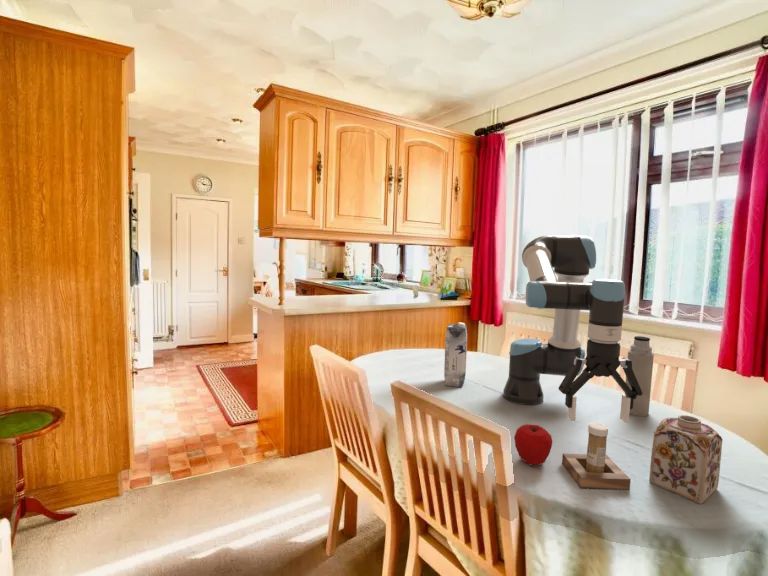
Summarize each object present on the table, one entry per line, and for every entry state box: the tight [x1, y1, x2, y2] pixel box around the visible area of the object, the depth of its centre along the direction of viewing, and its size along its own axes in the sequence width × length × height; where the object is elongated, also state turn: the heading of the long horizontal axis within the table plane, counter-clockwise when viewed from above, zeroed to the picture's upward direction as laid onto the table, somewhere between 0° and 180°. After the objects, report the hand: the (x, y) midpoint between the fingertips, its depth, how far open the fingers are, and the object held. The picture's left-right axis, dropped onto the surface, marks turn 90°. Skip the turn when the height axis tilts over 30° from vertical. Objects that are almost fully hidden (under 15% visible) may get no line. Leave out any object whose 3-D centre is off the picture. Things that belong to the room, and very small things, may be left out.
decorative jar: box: [648, 415, 723, 505], centre depth 105 cm, size 12×12×18 cm
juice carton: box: [443, 321, 468, 388], centre depth 179 cm, size 9×10×27 cm
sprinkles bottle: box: [585, 422, 609, 473], centre depth 109 cm, size 5×5×13 cm
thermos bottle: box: [624, 335, 654, 417], centre depth 151 cm, size 8×8×28 cm
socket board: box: [561, 452, 631, 492], centre depth 109 cm, size 12×12×3 cm
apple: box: [513, 423, 553, 467], centre depth 115 cm, size 10×10×11 cm
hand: (597, 419), depth 108 cm, fingers open, 13 cm apart
